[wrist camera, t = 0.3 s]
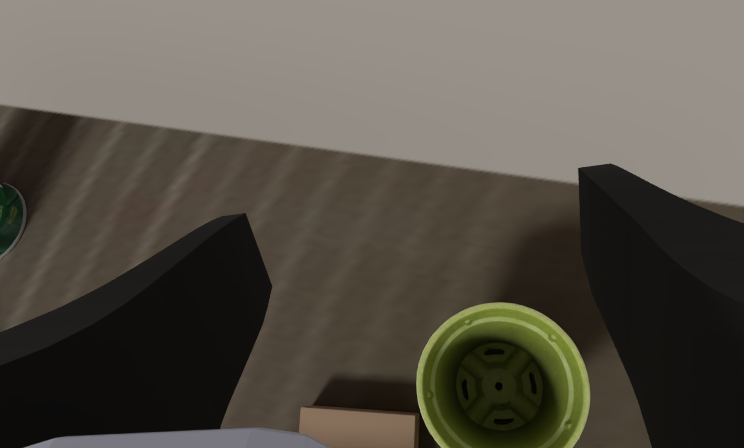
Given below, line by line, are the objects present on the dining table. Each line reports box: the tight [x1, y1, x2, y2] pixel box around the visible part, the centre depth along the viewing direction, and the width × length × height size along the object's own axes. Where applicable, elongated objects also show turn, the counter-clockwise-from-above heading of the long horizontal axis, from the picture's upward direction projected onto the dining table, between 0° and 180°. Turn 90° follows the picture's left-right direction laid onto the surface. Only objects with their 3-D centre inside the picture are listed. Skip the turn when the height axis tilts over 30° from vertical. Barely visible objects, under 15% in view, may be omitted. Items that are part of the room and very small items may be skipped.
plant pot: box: [416, 302, 590, 448], centre depth 35 cm, size 9×9×9 cm
